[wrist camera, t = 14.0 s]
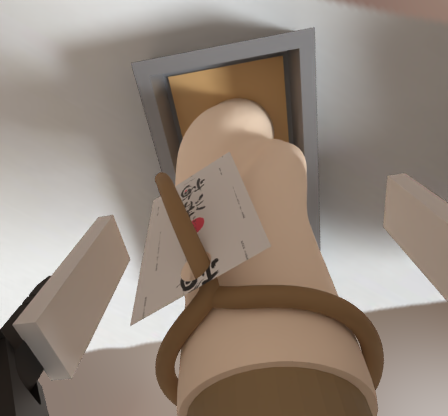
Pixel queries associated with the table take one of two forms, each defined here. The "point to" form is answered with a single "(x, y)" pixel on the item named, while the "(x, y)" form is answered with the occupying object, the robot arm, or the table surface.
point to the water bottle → (250, 282)
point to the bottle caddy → (237, 95)
